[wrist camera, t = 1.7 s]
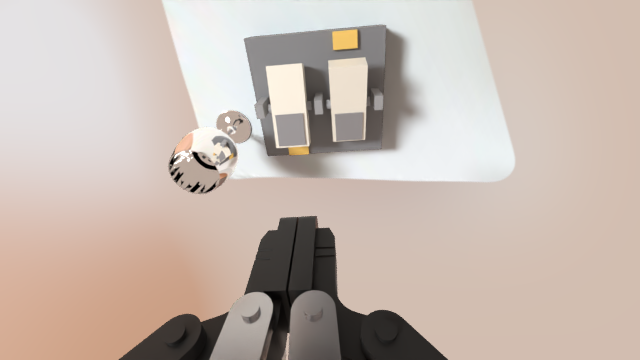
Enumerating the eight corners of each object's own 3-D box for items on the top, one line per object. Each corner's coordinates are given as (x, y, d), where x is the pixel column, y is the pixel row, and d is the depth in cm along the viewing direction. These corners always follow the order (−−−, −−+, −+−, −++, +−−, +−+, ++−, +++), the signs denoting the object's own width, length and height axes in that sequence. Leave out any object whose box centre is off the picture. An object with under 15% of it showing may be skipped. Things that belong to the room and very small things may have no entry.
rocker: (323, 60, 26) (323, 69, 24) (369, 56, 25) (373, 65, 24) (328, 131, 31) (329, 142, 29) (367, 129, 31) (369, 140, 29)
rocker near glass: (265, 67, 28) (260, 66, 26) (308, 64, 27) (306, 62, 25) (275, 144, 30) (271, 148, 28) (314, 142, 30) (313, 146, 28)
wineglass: (262, 117, 34) (234, 161, 24) (247, 154, 37) (216, 207, 26) (218, 96, 33) (168, 132, 22) (206, 136, 35) (156, 184, 25)
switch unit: (251, 36, 29) (234, 41, 24) (381, 24, 28) (393, 26, 23) (272, 147, 36) (262, 169, 31) (377, 140, 35) (386, 162, 30)
